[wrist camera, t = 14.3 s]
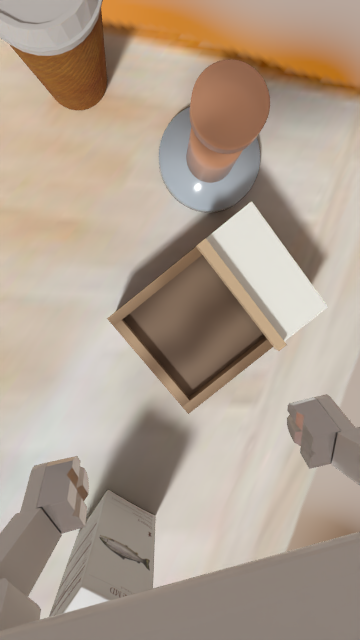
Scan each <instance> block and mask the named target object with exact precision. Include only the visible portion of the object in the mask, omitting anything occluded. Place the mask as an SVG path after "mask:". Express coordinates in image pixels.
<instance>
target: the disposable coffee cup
mask: <svg viewBox="0 0 360 640" xmlns="http://www.w3.org/2000/svg"><path fill="white" fill-rule="evenodd" d="M102 1H103V0H0V38H1V39H2V40H4V41H6V42H7V43H9V44H10V46H11V47H12V48H13V49H14V51H15V52H16V53H17V54H18V55H19V57H20V58H21V59H22V60H23V61H24V62H25V63H26V65H27V66H28V67H29V68H30V70H31V71H32V72H33V73H34V74H35V75H36V76H37V78H38V79H39V80H40V81H41V83H42V84H43V85H44V86H45V87H46V89H47V90H48V91H49V92H50V93H51V94H52V96H53V97H54V98H55V99H56V100H57V101H58V102H59V103H60V104H61V105H63V106H64V107H67V108H69V109H73V110H85V109H89V108H91V107H93V106H94V105H96V104H97V103H98V102H99V101H100V100H101V98H102V97H103V95H104V93H105V90H106V86H107V74H106V62H105V50H104V38H103V26H102V14H101V4H102Z"/></svg>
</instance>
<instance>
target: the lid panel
mask: <svg viewBox="0 0 360 640" xmlns="http://www.w3.org/2000/svg"><path fill="white" fill-rule="evenodd" d="M196 247H197V248H198V250H199V251H200V252H201V254H202V255H203V256H204V257H205V259H206V260H207V261H208V263H209V264H210V265H211V267H212V268H213V269H214V270H215V272H216V273H217V274H218V276H219V277H220V278H221V279H222V281H223V282H224V283H225V285H226V286H227V287H228V289H229V290H230V291H231V292H232V294H233V295H234V296H235V298H236V299H237V300H238V302H239V303H240V304H241V305H242V307H243V308H244V309H245V311H246V312H247V313H248V315H249V316H250V317H251V318H252V320H253V321H254V322H255V324H256V325H257V326H258V327H259V329H260V330H261V331H262V333H263V334H264V335H265V337H266V338H267V339H268V340H269V342H270V343H271V344H272V346H273V347H274V348H275V349H276V350H278V351H280V350H281V349H282V348H283V347H285V346H286V345H287V344H286V343H285V341H286V340H287V339H288V338H290V337H291V336H292V335H293V334H295V333H296V332H297V331H298V330H300V329H301V328H302V327H303V326H305V325H306V324H307V323H308V322H310V321H311V320H312V319H314V318H315V317H316V316H317V315H319V314H320V313H321V312H322V311H324V310H325V309H326V308H327V307H328V306H327V305H326V303H325V302H324V300H323V299H322V298H321V296H320V295H319V294H318V292H317V291H316V289H315V288H314V287H313V285H312V284H311V283H310V281H309V280H308V278H307V277H306V276H305V274H304V273H303V271H302V270H301V269H300V267H299V266H298V265H297V263H296V262H295V260H294V259H293V258H292V256H291V255H290V253H289V252H288V251H287V249H286V248H285V247H284V245H283V244H282V242H281V241H280V240H279V238H278V237H277V236H276V234H275V233H274V231H273V230H272V229H271V227H270V226H269V224H268V223H267V222H266V220H265V219H264V218H263V216H262V215H261V213H260V212H259V211H258V209H257V208H256V206H255V205H254V204H253V202H252V201H251V202H250V203H249V204H247V205H246V206H245V207H244V208H242V209H241V210H240V211H239V212H238V213H236V214H235V215H234V216H233V217H231V218H230V219H229V220H228V221H226V222H225V223H224V224H223V225H222V226H220V227H219V228H218V229H217V230H215V231H214V232H213V233H212V234H210V235H209V236H208V237H207V238H205V239H204V240H203V241H202V242H200V243H199V244H198V245H197V246H196Z"/></svg>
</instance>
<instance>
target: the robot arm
mask: <svg viewBox="0 0 360 640" xmlns="http://www.w3.org/2000/svg"><path fill="white" fill-rule="evenodd" d="M288 412H289V414H290V415H289V416H288V418H287V426H288V430H289V433H290V435H291V437H292V439H293V441H294V443H296V444H298V445H299V446H301V448H300V453H301V455H302V457H303V459H304V460H305V462H306V464H307V465H308V467H309V469H310V468H314V467H319V466H323V465H327V464H332V466H334V467H335V468H336V469H338V470H339V471H341V472H342V473H343V474H345V475H346V476H347V477H349V478H350V479H352V480H353V481H354V482H356V483H357V484H358V485H360V427H357V428H355V426H354V425H353V424H352V423H351V422H350V420H349V419H348V418H347V417H346V415H345V414H344V413H343V412H342V411H341V409H340V408H339V407H338V406H337V404H336V403H335V402H334V401H333V400H332V398H331V397H330V396H329V395H327V394H326V395H322V396H318V397H314V398H313V397H312V398H309V399H305V400H301V401H297V402H293V403H289V405H288ZM88 492H89V482H88V476H87V472H86V470H85V468H83V467H80V460H79V458H78V456H75V457H70V458H66V459H61V460H57V461H52V462H48V463H43V464H39V465H35V466H34V467H33V469H32V471H31V474H30V478H29V481H28V485H27V489H26V493H25V496H24V500H23V504H22V507H21V511H20V513H17V514H15V516H14V517H13V518H12V519H11V521H10V522H9V523H8V524H7V526H6V527H5V528H4V529H3V531H2V532H1V533H0V640H360V532H357V533H353V534H350V535H346V536H342V537H339V538H335V539H331V540H328V541H324V542H321V543H317V544H314V545H310V546H306V547H303V548H299V549H295V550H291V551H288V552H284V553H281V554H277V555H273V556H270V557H266V558H262V559H259V560H255V561H251V562H248V563H244V564H240V565H237V566H233V567H230V568H226V569H222V570H219V571H215V572H211V573H208V574H204V575H200V576H197V577H193V578H189V579H186V580H182V581H179V582H175V583H171V584H168V585H164V586H160V587H157V588H153V589H149V590H146V591H142V592H139V593H135V594H131V595H128V596H124V597H120V598H117V599H113V600H110V601H106V602H102V603H99V604H95V605H91V606H88V607H84V608H80V609H77V610H73V611H70V612H66V613H62V614H59V615H55V616H51V617H48V618H44V619H41V620H39V619H40V612H41V609H40V607H39V606H38V605H37V604H36V603H35V602H34V601H32V600H31V599H30V598H29V597H28V596H29V594H30V592H31V590H32V588H33V587H34V585H35V583H36V581H37V579H38V577H39V576H40V574H41V572H42V570H43V568H44V567H45V565H46V563H47V561H48V559H49V557H50V556H51V554H52V552H53V550H54V548H55V546H56V545H57V543H58V541H59V539H60V537H61V536H62V535H61V534H62V533H65V532H69V531H72V530H76V529H79V528H83V527H85V525H86V514H87V506H86V504H85V503H84V500H85V499H86V497H87V496H88Z"/></svg>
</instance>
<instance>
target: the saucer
mask: <svg viewBox="0 0 360 640" xmlns="http://www.w3.org/2000/svg"><path fill="white" fill-rule="evenodd" d="M190 131H191V123H190V107H188V108H186V109H184V110H183V111H181V112H180V113H179V114H178V115H176V116H175V117H174V118H173V119H172V121H171V122H170V123H169V125H168V126H167V128H166V130H165V132H164V134H163V136H162V140H161V143H160V149H159V165H160V172H161V176H162V178H163V181H164V183H165V185H166V187H167V189H168V190H169V192H170V193H171V194H172V195H173V197H174V198H175V199H176V200H178V201H179V202H180V203H181V204H183V205H184V206H186V207H188V208H190V209H193V210H196V211H200V212H217V211H222V210H225V209H227V208H229V207H231V206H233V205H235V204H236V203H237V202H239V201H240V200H241V199H242V198H243V197H244V196H245V195H246V194H247V192H248V191H249V190H250V189H251V187H252V185H253V184H254V182H255V179H256V177H257V174H258V171H259V165H260V149H259V143H258V140H257V137H256V139H255V140H254V141H253V142H252V143H251V144H250V145H249V146H248V147H247V148H245V149H243V151H242V153H241V154H240V156H239V158H238V159H237V161H236V162H235V164H234V166H233V167H232V169H231V171H230V172H229V174H228V175H227V176H226V177H225V178H223V179H222V180H220V181H218V182H213V183H207V182H203V181H201V180H199V179H197V178H196V177H195V176H194V175H193V174H192V173H191V172H190V170H189V168H188V165H187V161H186V153H187V147H188V142H189V137H190Z"/></svg>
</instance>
